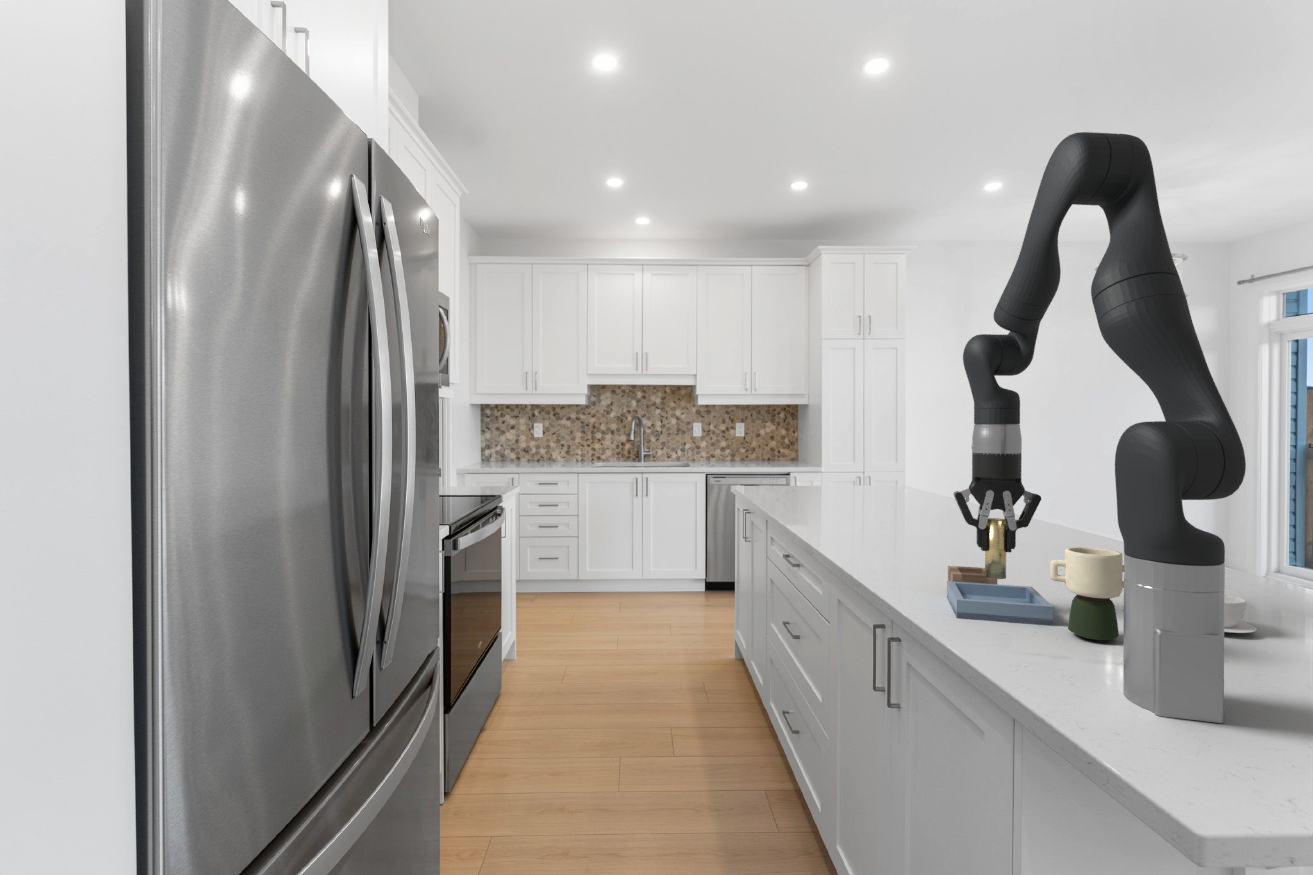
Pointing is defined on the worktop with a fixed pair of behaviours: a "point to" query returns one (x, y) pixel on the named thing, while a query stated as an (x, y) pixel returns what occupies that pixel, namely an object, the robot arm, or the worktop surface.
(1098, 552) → the character mug
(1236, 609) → the teacup
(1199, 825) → the worktop surface
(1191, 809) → the worktop surface
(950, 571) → the bracket
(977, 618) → the tray
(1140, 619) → the robot arm
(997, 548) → the pin
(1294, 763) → the worktop surface
